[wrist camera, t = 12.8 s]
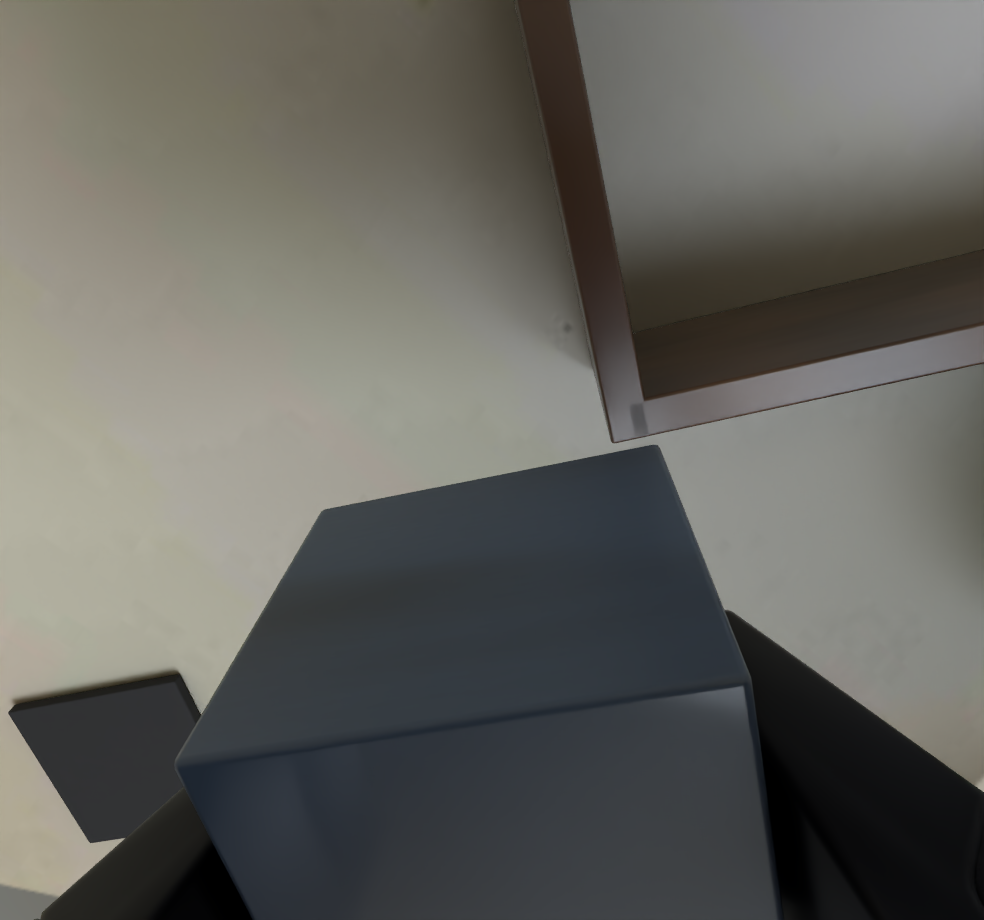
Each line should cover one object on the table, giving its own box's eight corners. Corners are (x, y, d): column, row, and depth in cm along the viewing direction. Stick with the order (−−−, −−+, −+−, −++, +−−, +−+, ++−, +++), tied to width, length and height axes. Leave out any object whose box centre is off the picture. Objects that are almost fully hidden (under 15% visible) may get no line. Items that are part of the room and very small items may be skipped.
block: (705, 720, 10) (805, 1066, 6) (413, 762, 10) (343, 1103, 7) (658, 441, 8) (752, 675, 5) (319, 508, 9) (167, 765, 5)
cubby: (1161, -423, 13) (1496, -725, 9) (1124, 250, 17) (1334, 288, 13) (474, -183, 15) (447, -326, 10) (593, 372, 19) (612, 445, 15)
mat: (249, 810, 26) (245, 819, 26) (95, 834, 27) (89, 843, 27) (179, 673, 24) (174, 681, 24) (15, 703, 25) (6, 712, 24)
